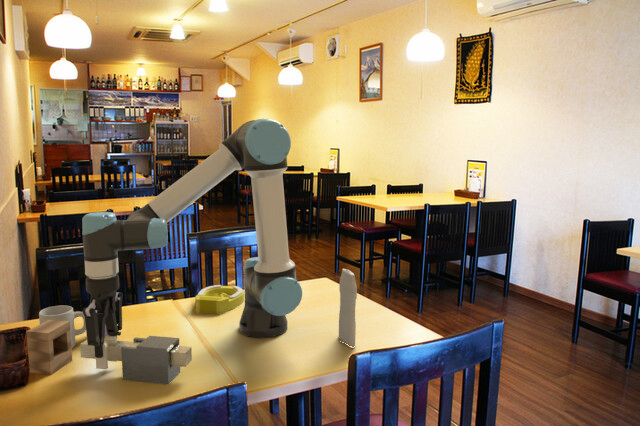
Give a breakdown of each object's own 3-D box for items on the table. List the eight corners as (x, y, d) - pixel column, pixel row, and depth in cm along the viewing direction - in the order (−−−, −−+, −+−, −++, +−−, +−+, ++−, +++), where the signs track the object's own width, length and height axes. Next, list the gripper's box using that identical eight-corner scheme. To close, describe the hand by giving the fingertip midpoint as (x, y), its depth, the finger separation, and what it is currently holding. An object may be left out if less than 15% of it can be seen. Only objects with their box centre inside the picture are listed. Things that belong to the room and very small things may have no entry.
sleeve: (180, 372, 121) (179, 338, 120) (168, 384, 115) (167, 348, 114) (136, 368, 123) (135, 334, 122) (122, 380, 117) (121, 344, 116)
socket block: (72, 360, 127) (69, 321, 125) (51, 374, 119) (48, 333, 118) (52, 358, 128) (49, 319, 126) (29, 372, 120) (26, 331, 118)
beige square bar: (191, 360, 119) (191, 346, 118) (185, 367, 115) (185, 353, 115) (89, 351, 123) (88, 338, 123) (80, 357, 120) (79, 343, 119)
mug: (43, 356, 129) (40, 318, 127) (39, 345, 136) (37, 308, 134) (91, 346, 136) (89, 309, 134) (85, 336, 143) (83, 301, 141)
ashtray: (185, 312, 165) (185, 298, 164) (209, 293, 185) (208, 281, 184) (231, 315, 162) (230, 301, 161) (249, 296, 182) (249, 284, 182)
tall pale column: (333, 335, 146) (334, 266, 142) (345, 334, 147) (347, 265, 144) (347, 350, 136) (349, 275, 133) (360, 348, 137) (362, 274, 134)
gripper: (108, 265, 126) (112, 349, 130) (65, 284, 110) (72, 378, 113) (134, 267, 125) (138, 351, 128) (95, 285, 109) (100, 381, 112)
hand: (107, 364), depth 121 cm, fingers closed on beige square bar, 4 cm apart
